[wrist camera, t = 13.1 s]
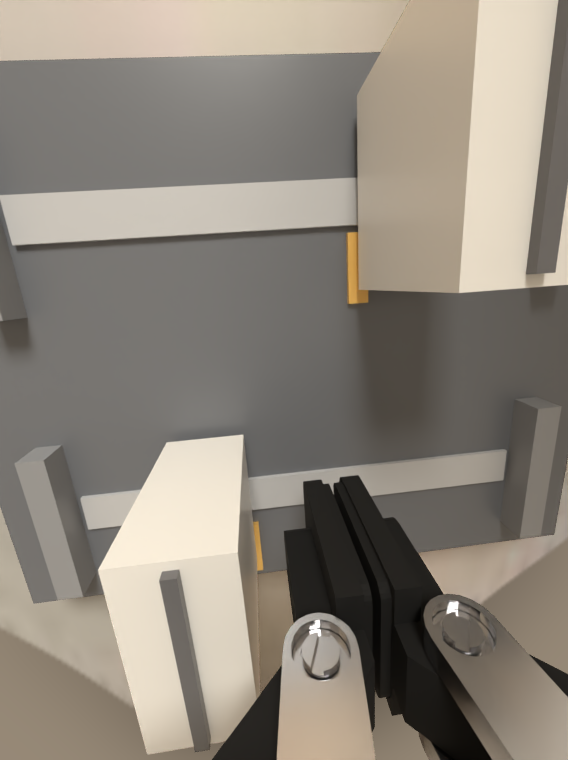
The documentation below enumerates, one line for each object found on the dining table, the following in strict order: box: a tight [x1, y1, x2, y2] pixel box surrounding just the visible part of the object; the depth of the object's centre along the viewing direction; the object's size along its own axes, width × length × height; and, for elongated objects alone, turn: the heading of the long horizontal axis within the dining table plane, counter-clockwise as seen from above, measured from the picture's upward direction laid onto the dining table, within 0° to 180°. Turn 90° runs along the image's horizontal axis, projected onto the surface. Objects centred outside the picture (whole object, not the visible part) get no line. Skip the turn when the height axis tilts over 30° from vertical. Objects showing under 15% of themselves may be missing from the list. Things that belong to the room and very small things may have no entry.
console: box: [0, 52, 568, 603], centre depth 11 cm, size 16×20×3 cm
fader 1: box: [98, 435, 260, 754], centre depth 9 cm, size 5×2×5 cm, turn 4°
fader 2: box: [357, 0, 568, 293], centre depth 7 cm, size 5×2×5 cm, turn 4°
